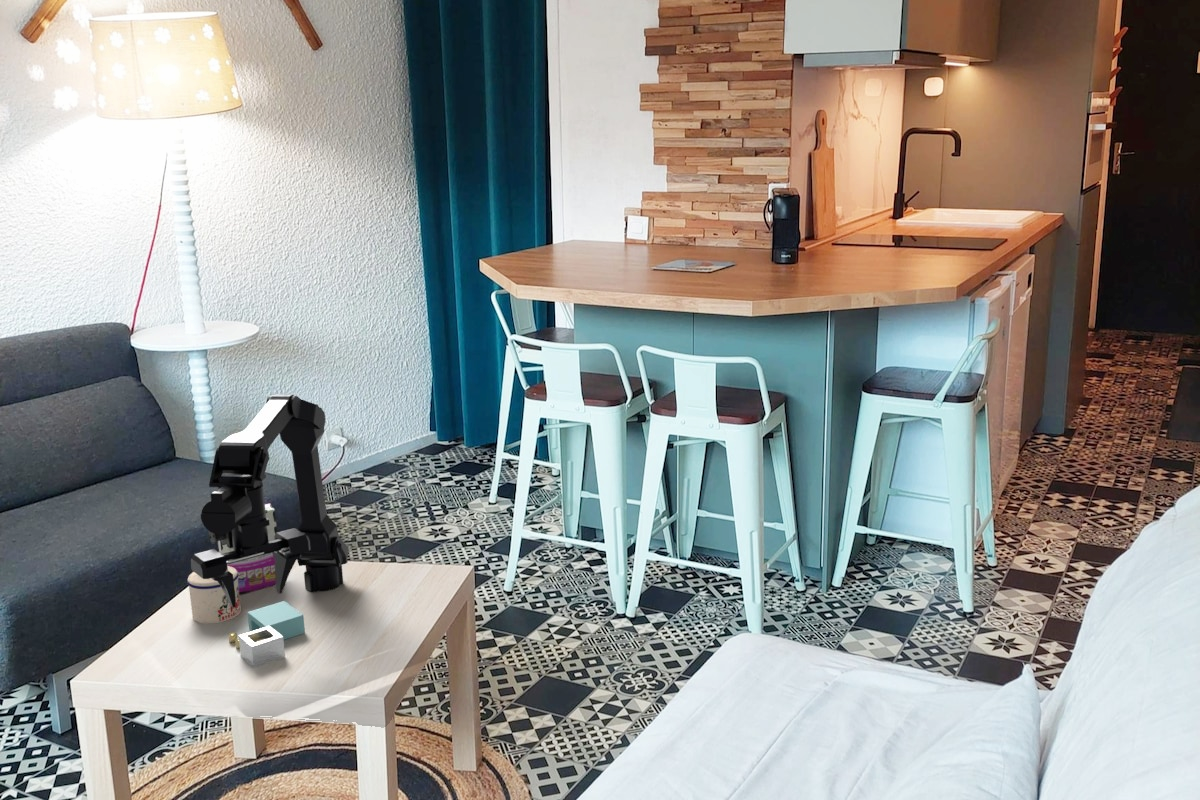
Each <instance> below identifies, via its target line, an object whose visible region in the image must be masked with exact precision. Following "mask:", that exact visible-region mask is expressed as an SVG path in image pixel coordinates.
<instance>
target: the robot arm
mask: <svg viewBox="0 0 1200 800" xmlns="http://www.w3.org/2000/svg"><path fill="white" fill-rule="evenodd" d="M325 426H326V414H325V411H324V410H323V408H322V407H321V406H319V405H318V404H315V403H313V402H311V401H307V400H304V399H301V397H299V396H297V395H294V394H285V393H284V394H283V393H282V394H272V395H269V396H267V399H266V402H265V404H264V406H263V407H262V408H261V409H260V411H259V412H258V413H257V414H256V415H255V417H254V418H253V419H252V421H250V422H249V424H248V425H247V427H246V428H244V429H243V430H242V431H239V432H235V433H233V434H231V435H229V436H226V438H225V439H223V440H222V441H221V442H220V443H219V445H218V447H217V448H216V450H215V454H214V459H213V462H212V469H211V474H210V478H209V479H210V480H209V484H208V487H209V488H217V490H214V491H212V492H211V493H210V500H209V501H207V502H206V503H205V504H204V505H203V507H202V510H201V513H200V519H201V522H202V523H201V524H202V525H203V526H204V528H205V529H206V530H207V531H208V537H209V541H210V543H218V541H221V542H222V545H226V544H227V547H228V548H233V551H231V552H228V553H224V554H220V553H219V550H218V551H217V550H216V549H215V548H212V549H209V550H204V551H200V552H197V553H194V554H193V555H192V557H191V559H190V567H191V571H192V572H195V573H196V574H198V575H199V576H200V577H201V578H203V579H210V578H212V579H213V580H214V581H218V583H219V584H220V586H221V588H222V590H223V592H224V594H225V595H226V597H227V599H228V601H229V603H230V605H231V606H232V607H233V608H234V607H235V605H236V598H235V589H234V580H233V574H232V573H230V572H229V571H228V567H227V565H228V564H232V563H235V562H239V561H243V560H246V559H250V558H254V557H257V556H261V555H265V554H268V553H272V554H273V557H274V560H275V579H276V585H275V587H276V588H275V589H276V593H277V594H278V595H280V594H283V591H284V588H285V585H286V583H287V581H288V578H289V575H290V574H291V571H292V569H293V567H294V565H295V563H296V561H297V564H298V566H299V567H302V566H304V567H305V571H304V573H303V576H304V588H305V590H307V591H308V592H309V593H317V592H327V591H332V590H335V589H337V588H339V587H340V585H343V584H344V575H343V565H346V564H348V562H349V561H348V558H349V557H348V556H349V548H348V546H347V545H346V543H345V542H344V541H343V539H342V538H341V537H340V536H339V530H338V527H337V524H336V523H335V522H334V521H333V519H332V518H330V517H329V515H328V513H327V507H326V501H325V493H324V484H323V477H322V476H323V475H322V469H321V462H320V454H319V446H318V445H319V443H320V442H321V439H322V438H323V435H324V433H325ZM278 436H280V440H281V442H282V443H283V444H284V445H285V447H287V449H289V451H290V452H291V456H292V457H291V458H292V463H293V470H294V477H295V483H296V491H297V497H298V498H297V499H298V506H299V512H300V524H299V526H298V528H295V527H292V528H290V529H285V530H282V531H277V533H276V534H275V536H274V537H275V540H273V541H268V532H267V526H269V525H270V524H269V519H267V518H266V512H265V504H266V503H265V493H264V484H263V481H264V480H265V479H266V478H267V475H266V470H267V467H268V463H269V461H270V455H269V448H270V446H271V445H272V444H273V443H274V442H275V441H276V439H277V437H278ZM225 475H226V476H225ZM230 475H234V476H230ZM238 475H239V476H238Z"/></svg>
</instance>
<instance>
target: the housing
mask: <svg viewBox="0 0 1200 800" xmlns="http://www.w3.org/2000/svg"><path fill="white" fill-rule="evenodd" d="M247 620H248V629H249V632H251V631H254V630H257V629H260V628H264V627H267V626H271V627H272V628H273V629H274V630H276V631H277V632H278V633H279V634H281V635H282V636H283V640H287V639H290V638H291V639H292V638H294V637H296V636H299V635H302V634H305V633H306V630H305V617H304V614H303V613H301V611H299V610H297V609H296V608H295V607H293V606H292V605H290V604H289V603H288V602H286V601H285V600H283V601H279V602H276V603H272V604H269V605H266V606H263V607H260V608H257V609H254V610H250V611H247Z"/></svg>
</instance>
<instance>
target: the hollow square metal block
mask: <svg viewBox="0 0 1200 800" xmlns="http://www.w3.org/2000/svg"><path fill="white" fill-rule="evenodd" d="M237 638H238V639H239V646H240V649H239V652H240V653H239V654H240V657H241V658H242V659H243V660H244V661H245V662H247V663H248V665H250V666H251V667H252V668H253V669H254V668H257V667H261V666H263V665H266V664H269V663H273V662H275V661H278V660H281V659H285V658H286V652H285V643H284V640H285V639H284V640H283V636H282V635H281V634H279V633H278V632H277V631H276V630H274V629H273V628H272V627H271V626H267V627H264V628H260V629H257V630H254V631H249V632H245V633H242V634H237ZM258 639H265V640H262V641H259V642H256V643H255V641H256V640H258Z"/></svg>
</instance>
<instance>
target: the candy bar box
mask: <svg viewBox="0 0 1200 800" xmlns="http://www.w3.org/2000/svg"><path fill="white" fill-rule="evenodd" d="M265 512H266V518H267V519H269V524H270V525H269V526H267V532H268V541H273V540H275V537H274V536H275V534H276V533H277V532H278V526H277V518H276V516H277V515H276V510H275V508H274V507H273V506H272V504H271V503H270V502H269V503H265ZM217 546H218V552H219V553H220V554H224V553H228V552H231V551H233V548H228V547H227V544H226V545H222V542H221V541H217ZM227 566H230V567H233V568H235V569H236V570H237V572H238V587H239V595H243V594H249V593H253V592H256V591H259V590H264V589H267V588H270V587H274V586H276V579H275V560H274V557H273V554H272V553H268V554H265V555H261V556H257V557H254V558H250V559H246V560H243V561H239V562H235V563H232V564H228V565H227Z"/></svg>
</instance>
